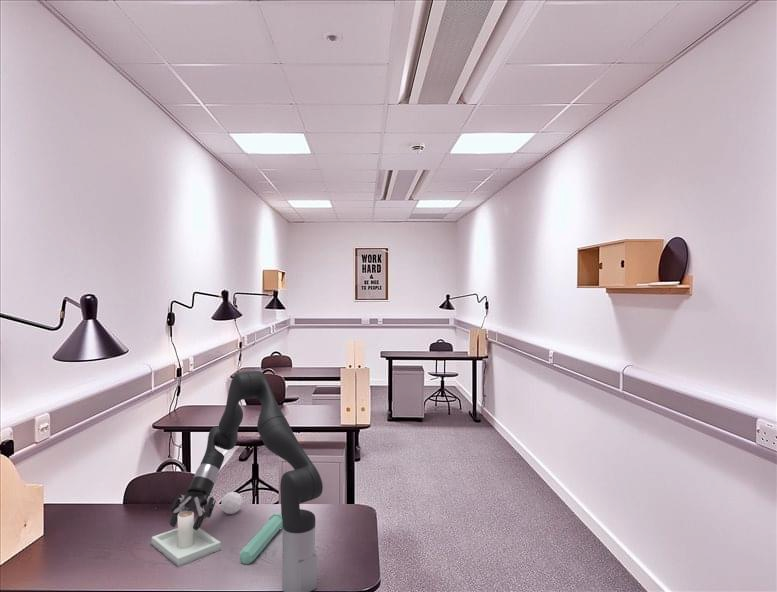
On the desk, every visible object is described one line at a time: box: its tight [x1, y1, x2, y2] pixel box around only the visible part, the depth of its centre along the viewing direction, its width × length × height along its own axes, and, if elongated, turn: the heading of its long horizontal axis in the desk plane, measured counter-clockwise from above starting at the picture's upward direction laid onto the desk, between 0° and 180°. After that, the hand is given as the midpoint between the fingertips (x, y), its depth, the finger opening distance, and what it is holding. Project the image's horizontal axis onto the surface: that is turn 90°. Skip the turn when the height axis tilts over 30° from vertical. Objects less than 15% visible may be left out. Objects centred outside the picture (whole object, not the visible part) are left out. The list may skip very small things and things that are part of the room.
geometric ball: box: [220, 491, 243, 515], centre depth 189 cm, size 8×8×8 cm
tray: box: [151, 527, 222, 568], centre depth 162 cm, size 20×14×2 cm
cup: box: [177, 510, 195, 548], centre depth 162 cm, size 5×5×10 cm
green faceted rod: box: [239, 513, 283, 565], centre depth 164 cm, size 6×6×25 cm
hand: (183, 527), depth 161 cm, fingers open, 8 cm apart
